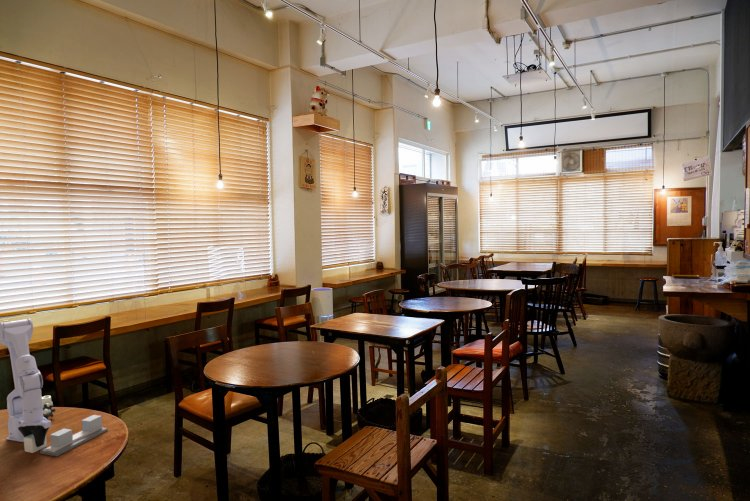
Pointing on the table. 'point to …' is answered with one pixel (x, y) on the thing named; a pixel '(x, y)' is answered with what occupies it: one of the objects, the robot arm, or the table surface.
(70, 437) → the board
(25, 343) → the robot arm
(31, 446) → the cream module
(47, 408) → the valve
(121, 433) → the table surface
